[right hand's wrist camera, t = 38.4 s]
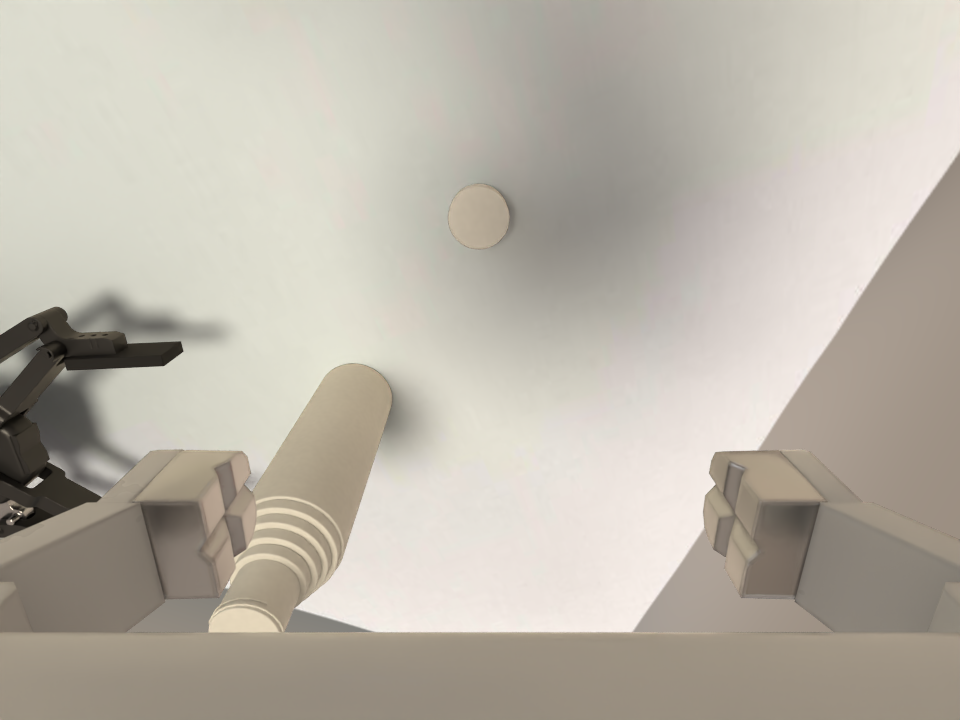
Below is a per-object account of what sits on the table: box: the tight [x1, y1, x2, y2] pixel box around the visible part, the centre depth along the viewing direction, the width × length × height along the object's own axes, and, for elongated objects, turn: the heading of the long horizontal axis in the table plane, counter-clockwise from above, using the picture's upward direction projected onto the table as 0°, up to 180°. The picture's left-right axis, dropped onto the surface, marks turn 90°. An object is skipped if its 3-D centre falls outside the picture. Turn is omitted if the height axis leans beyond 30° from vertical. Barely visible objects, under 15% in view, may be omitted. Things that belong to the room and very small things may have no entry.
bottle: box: [208, 364, 392, 632], centre depth 37 cm, size 6×6×24 cm
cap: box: [448, 184, 510, 249], centre depth 41 cm, size 4×4×2 cm
